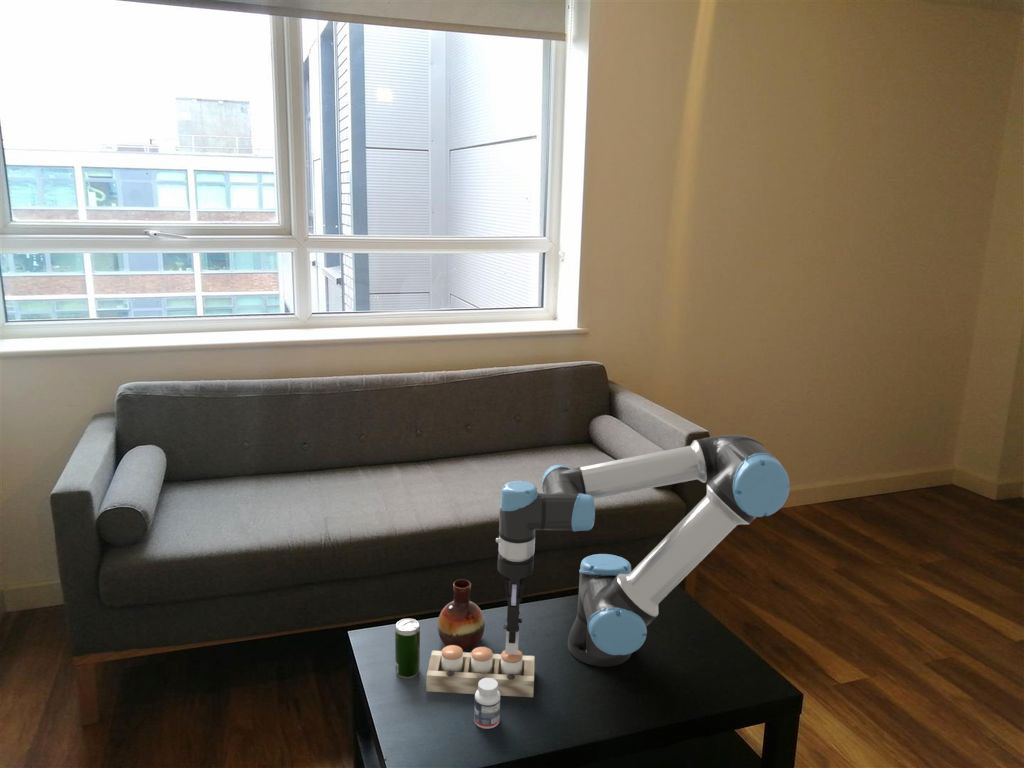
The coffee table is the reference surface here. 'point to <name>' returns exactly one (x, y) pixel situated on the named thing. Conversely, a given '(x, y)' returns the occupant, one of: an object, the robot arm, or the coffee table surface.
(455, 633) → the vase
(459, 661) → the button
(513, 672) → the button
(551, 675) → the coffee table surface
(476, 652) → the button
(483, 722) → the pill bottle
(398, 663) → the beer can
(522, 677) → the wooden egg tray
